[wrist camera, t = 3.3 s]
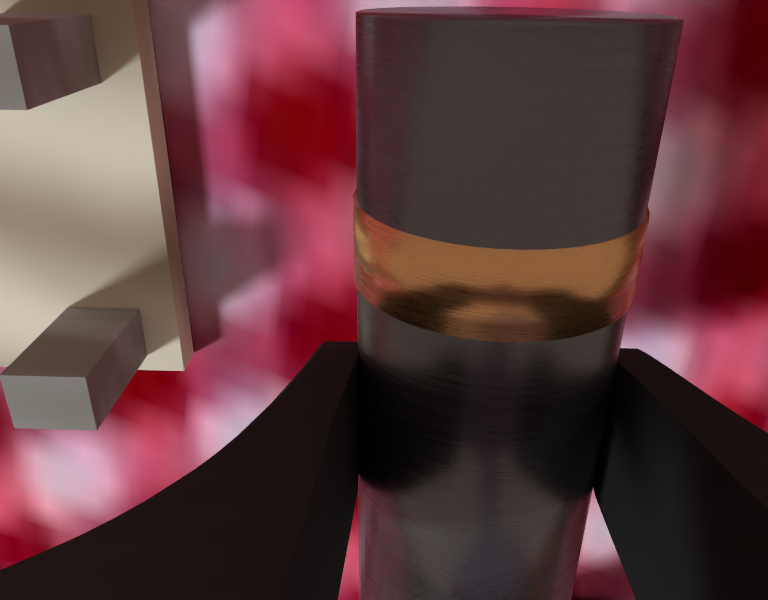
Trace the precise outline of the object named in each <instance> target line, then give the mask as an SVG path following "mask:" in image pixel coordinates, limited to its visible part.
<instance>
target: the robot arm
mask: <svg viewBox="0 0 768 600" xmlns="http://www.w3.org/2000/svg"><path fill="white" fill-rule="evenodd" d="M358 479H359V403H358V342H337V341H325V342H324V343H323V344H321V345H320V346H319V347H318V349H317V350H316V351H315V353H314V354H313V355H312V356H311V358H310V359H309V360H308V362H307V363H306V364H305V365H304V367H303V368H302V369H301V370H300V371H299V373H298V374H297V375H296V376H295V377H294V379H293V380H292V381H291V382H290V383H289V384H288V385H287V386H286V388H285V389H284V390H283V391H282V392H281V393H280V394H279V395H278V396H277V397H276V399H275V400H274V401H273V402H272V403H271V404H270V405H269V406H268V407H267V408H266V409H265V410H264V411H263V412H262V413H261V414H260V415H259V416H258V417H257V418H256V419H255V420H254V421H253V422H251V423H250V424H249V425H248V426H247V427H246V428H245V429H244V430H243V431H242V432H241V433H240V434H239V435H238V436H237V437H235V438H234V439H233V440H232V441H231V442H230V443H228V444H227V445H226V446H225V447H224V448H222V449H221V450H220V451H219V452H217V453H216V454H215V455H214V456H212V457H211V458H210V459H208V460H207V461H206V462H204V463H203V464H202V465H200V466H199V467H197V468H196V469H195V470H193V471H192V472H190V473H188V474H187V475H185V476H184V477H182V478H181V479H179V480H178V481H176V482H174V483H173V484H171V485H170V486H168V487H167V488H165V489H164V490H162V491H160V492H159V493H157V494H156V495H154V496H153V497H151V498H150V499H148V500H146V501H144V502H143V503H141V504H139V505H137V506H136V507H134V508H132V509H130V510H128V511H127V512H125V513H123V514H121V515H119V516H118V517H116V518H114V519H112V520H110V521H108V522H106V523H104V524H102V525H100V526H98V527H96V528H94V529H92V530H90V531H88V532H86V533H84V534H82V535H80V536H78V537H76V538H74V539H71V540H69V541H67V542H65V543H63V544H60V545H58V546H56V547H53V548H51V549H49V550H46V551H44V552H42V553H39V554H37V555H35V556H32V557H30V558H28V559H25V560H23V561H21V562H18V563H16V564H14V565H11V566H9V567H7V568H4V569H2V570H0V600H338V594H339V589H340V584H341V578H342V573H343V568H344V562H345V557H346V551H347V546H348V541H349V535H350V530H351V525H352V519H353V514H354V508H355V503H356V497H357V492H358ZM593 488H594V492H595V496H596V499H597V502H598V504H599V507H600V510H601V512H602V515H603V517H604V520H605V522H606V525H607V528H608V530H609V533H610V535H611V538H612V540H613V543H614V545H615V548H616V550H617V553H618V555H619V558H620V560H621V563H622V565H623V568H624V570H625V573H626V575H627V578H628V580H629V583H630V585H631V588H632V590H633V593H634V595H635V598H636V600H768V433H767V432H765V431H763V430H762V429H760V428H758V427H757V426H755V425H753V424H752V423H750V422H749V421H747V420H746V419H744V418H742V417H741V416H739V415H738V414H736V413H735V412H733V411H732V410H730V409H729V408H727V407H725V406H724V405H722V404H721V403H719V402H718V401H716V400H715V399H714V398H712V397H711V396H709V395H708V394H706V393H705V392H703V391H702V390H700V389H699V388H697V387H696V386H694V385H693V384H691V383H690V382H689V381H687V380H686V379H684V378H683V377H681V376H680V375H678V374H677V373H675V372H674V371H673V370H671V369H670V368H668V367H667V366H665V365H664V364H662V363H661V362H659V361H658V360H656V359H654V358H653V357H651V356H650V355H648V354H646V353H645V352H643V351H641V350H639V349H628V348H620V351H619V356H618V361H617V366H616V371H615V376H614V381H613V386H612V392H611V397H610V402H609V407H608V412H607V417H606V422H605V427H604V433H603V438H602V443H601V448H600V453H599V458H598V463H597V469H596V474H595V479H594V484H593Z"/></svg>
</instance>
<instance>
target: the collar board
mask: <svg viewBox="0 0 768 600" xmlns="http://www.w3.org/2000/svg"><path fill="white" fill-rule="evenodd" d="M193 354H194V351H193V344H192V336H191V328H190V321H189V313H188V306H187V298H186V290H185V283H184V275H183V267H182V260H181V252H180V245H179V237H178V229H177V222H176V214H175V207H174V199H173V191H172V184H171V176H170V168H169V161H168V153H167V146H166V138H165V130H164V123H163V115H162V108H161V100H160V92H159V85H158V77H157V70H156V62H155V54H154V47H153V39H152V31H151V24H150V16H149V9H148V1H147V0H0V366H4V367H7V368H6V369H5V370H4V371H3V372H2V373H1V374H0V380H1V383H2V387H3V390H4V394H5V397H6V401H7V404H8V408H9V411H10V415H11V418H12V422H13V425H14V428H25V429H63V430H98V428H99V427H100V425H101V424H102V422H103V421H104V419H105V418H106V416H107V415H108V413H109V412H110V410H111V409H112V407H113V406H114V404H115V403H116V401H117V400H118V398H119V397H120V395H121V394H122V392H123V391H124V389H125V388H126V386H127V385H128V383H129V382H130V380H131V379H132V377H133V376H134V374H135V373H136V371H137V370H166V371H184V370H185V368H186V366H187V365H188V363H189V361H190V359H191V357H192V356H193Z"/></svg>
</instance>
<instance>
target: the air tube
mask: <svg viewBox="0 0 768 600" xmlns="http://www.w3.org/2000/svg"><path fill="white" fill-rule="evenodd" d="M683 22H684V20H683V19H681V18H678V17H673V16H665V15H657V14H646V13H634V12H620V11H603V10H583V9H558V8H526V7H397V8H377V9H367V10H360V11H357V12H356V139H357V188H356V190H355V192H354V194H353V217H354V281H355V284H356V287H357V313H358V403H359V479H358V486H359V600H571V597H572V592H573V586H574V581H575V576H576V571H577V566H578V561H579V556H580V551H581V545H582V540H583V535H584V530H585V525H586V520H587V515H588V510H589V504H590V499H591V494H592V489H593V484H594V479H595V474H596V469H597V463H598V458H599V453H600V448H601V443H602V438H603V433H604V427H605V422H606V417H607V412H608V407H609V402H610V397H611V392H612V386H613V381H614V376H615V371H616V366H617V361H618V356H619V351H620V345H621V340H622V335H623V330H624V325H625V320H626V315H627V311H628V310H629V308H630V307H631V304H632V302H633V299H634V294H635V289H636V284H637V278H638V273H639V268H640V263H641V258H642V253H643V248H644V243H645V238H646V233H647V228H648V223H649V214H650V212H649V210H648V202H649V197H650V192H651V186H652V181H653V176H654V171H655V166H656V161H657V156H658V151H659V145H660V140H661V135H662V130H663V125H664V120H665V115H666V110H667V104H668V99H669V94H670V89H671V84H672V79H673V74H674V68H675V63H676V58H677V53H678V48H679V43H680V38H681V33H682V27H683Z"/></svg>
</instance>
